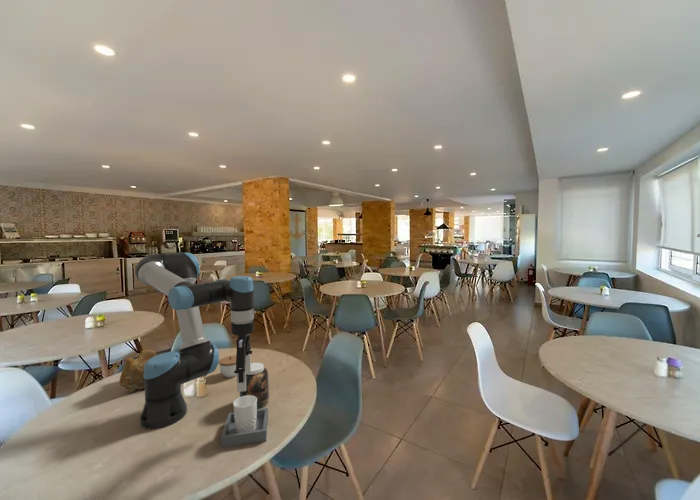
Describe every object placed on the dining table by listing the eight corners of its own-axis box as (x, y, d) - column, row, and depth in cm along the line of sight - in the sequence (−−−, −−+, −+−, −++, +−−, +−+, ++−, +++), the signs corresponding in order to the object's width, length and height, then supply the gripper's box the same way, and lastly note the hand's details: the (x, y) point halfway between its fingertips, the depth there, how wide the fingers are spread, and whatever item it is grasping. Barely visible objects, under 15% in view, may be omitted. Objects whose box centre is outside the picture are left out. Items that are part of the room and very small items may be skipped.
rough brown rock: (155, 397, 132) (157, 363, 132) (112, 398, 129) (114, 363, 129) (175, 375, 155) (176, 346, 155) (139, 376, 152) (140, 346, 152)
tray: (221, 448, 98) (221, 437, 98) (229, 422, 111) (228, 413, 111) (266, 440, 101) (265, 430, 101) (268, 416, 114) (268, 407, 114)
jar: (233, 407, 121) (231, 370, 121) (252, 393, 132) (250, 359, 132) (257, 412, 117) (256, 374, 117) (275, 397, 128) (273, 362, 128)
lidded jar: (247, 372, 153) (246, 354, 152) (228, 381, 144) (227, 362, 143) (233, 368, 158) (232, 350, 158) (214, 376, 149) (214, 357, 149)
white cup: (250, 437, 101) (249, 408, 101) (229, 435, 103) (228, 406, 102) (262, 423, 109) (261, 396, 108) (242, 421, 110) (241, 394, 110)
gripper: (250, 331, 93) (252, 398, 94) (257, 311, 117) (258, 365, 118) (224, 333, 91) (226, 401, 93) (236, 312, 116) (238, 367, 117)
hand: (244, 381), depth 105 cm, fingers open, 13 cm apart
